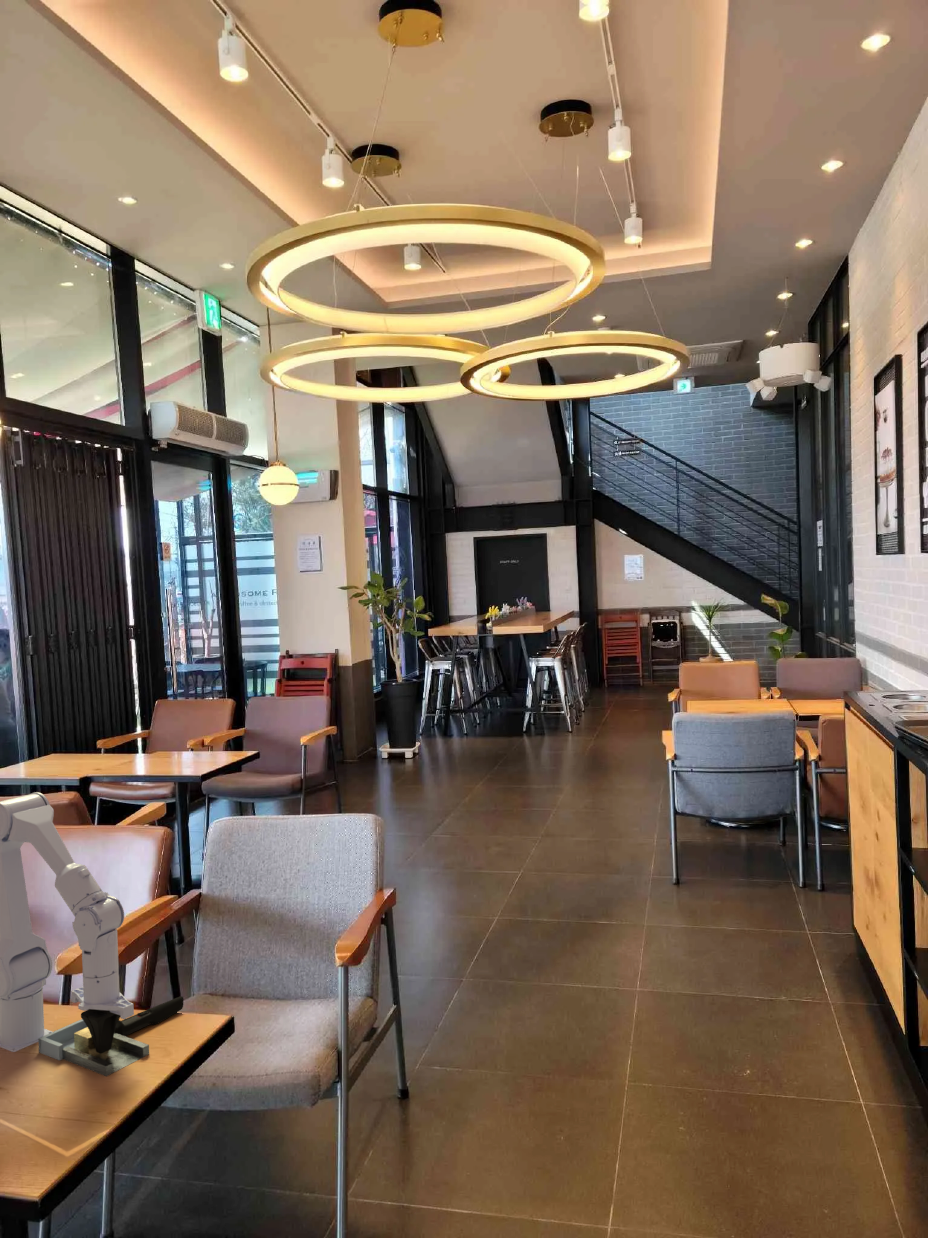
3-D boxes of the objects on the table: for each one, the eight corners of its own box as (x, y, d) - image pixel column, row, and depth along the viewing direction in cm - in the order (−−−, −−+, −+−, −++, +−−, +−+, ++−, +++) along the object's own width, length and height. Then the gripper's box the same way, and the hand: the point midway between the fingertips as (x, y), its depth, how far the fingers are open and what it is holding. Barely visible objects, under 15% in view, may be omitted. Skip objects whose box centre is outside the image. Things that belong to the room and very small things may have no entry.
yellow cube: (74, 1053, 155) (73, 1033, 155) (95, 1043, 158) (94, 1024, 158) (88, 1059, 153) (88, 1038, 153) (109, 1049, 156) (108, 1029, 156)
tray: (39, 1055, 156) (38, 1038, 156) (88, 1032, 164) (87, 1016, 164) (59, 1063, 152) (58, 1046, 152) (108, 1040, 160) (108, 1023, 160)
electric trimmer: (188, 1014, 170) (188, 997, 170) (114, 1046, 158) (114, 1027, 158) (176, 1009, 172) (176, 993, 172) (102, 1040, 160) (102, 1022, 160)
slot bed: (62, 1062, 153) (62, 1049, 153) (105, 1041, 160) (105, 1029, 160) (106, 1079, 146) (106, 1066, 146) (149, 1057, 153) (148, 1045, 153)
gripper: (54, 972, 154) (57, 1050, 154) (106, 988, 146) (109, 1071, 146) (90, 958, 160) (93, 1033, 160) (143, 973, 152) (146, 1052, 152)
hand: (103, 1050), depth 153 cm, fingers closed
